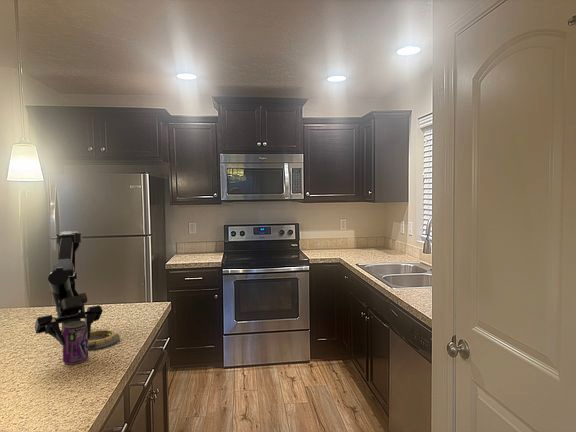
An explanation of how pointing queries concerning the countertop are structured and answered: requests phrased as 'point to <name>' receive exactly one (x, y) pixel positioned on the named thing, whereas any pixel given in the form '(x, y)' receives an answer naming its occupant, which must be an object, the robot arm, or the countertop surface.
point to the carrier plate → (97, 337)
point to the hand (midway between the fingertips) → (76, 341)
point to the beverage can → (75, 342)
